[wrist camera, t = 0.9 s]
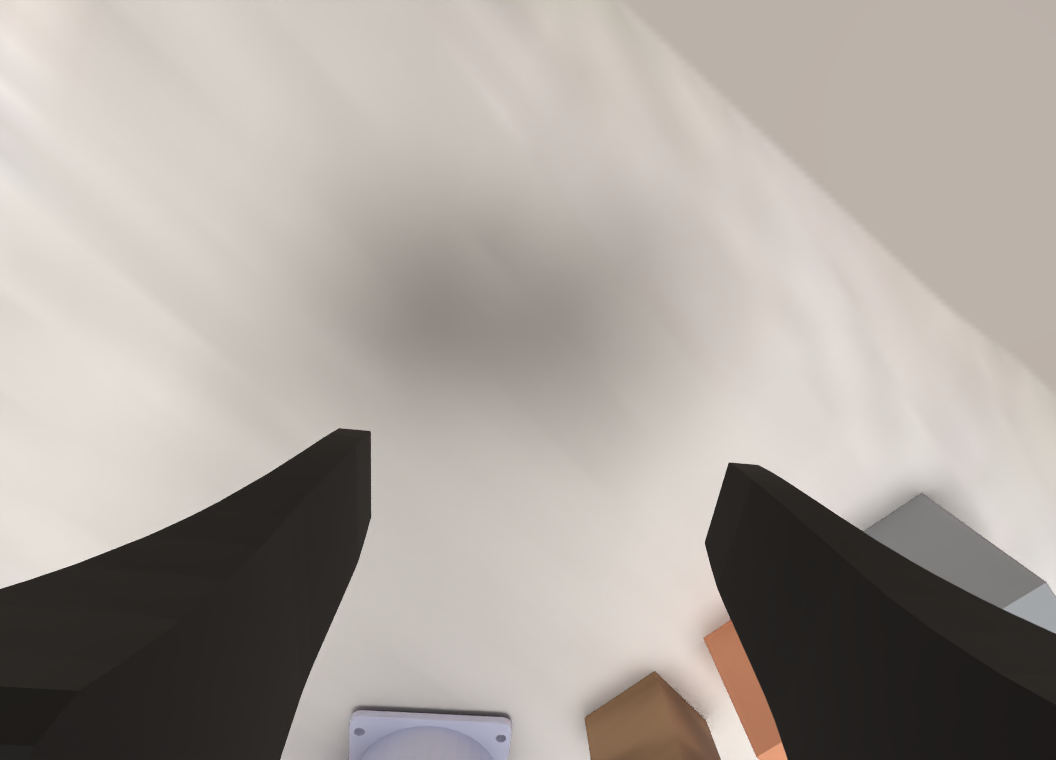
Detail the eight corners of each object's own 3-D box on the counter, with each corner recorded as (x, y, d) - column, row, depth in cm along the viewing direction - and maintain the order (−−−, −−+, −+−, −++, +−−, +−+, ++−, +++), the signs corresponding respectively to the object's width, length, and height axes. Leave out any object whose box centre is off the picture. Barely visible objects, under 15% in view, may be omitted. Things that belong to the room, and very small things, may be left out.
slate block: (965, 555, 26) (1096, 657, 20) (881, 608, 26) (984, 720, 21) (921, 492, 24) (1046, 582, 19) (835, 549, 25) (929, 652, 20)
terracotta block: (829, 641, 27) (914, 760, 21) (753, 689, 28) (816, 815, 22) (780, 586, 26) (858, 695, 20) (703, 637, 27) (756, 757, 21)
